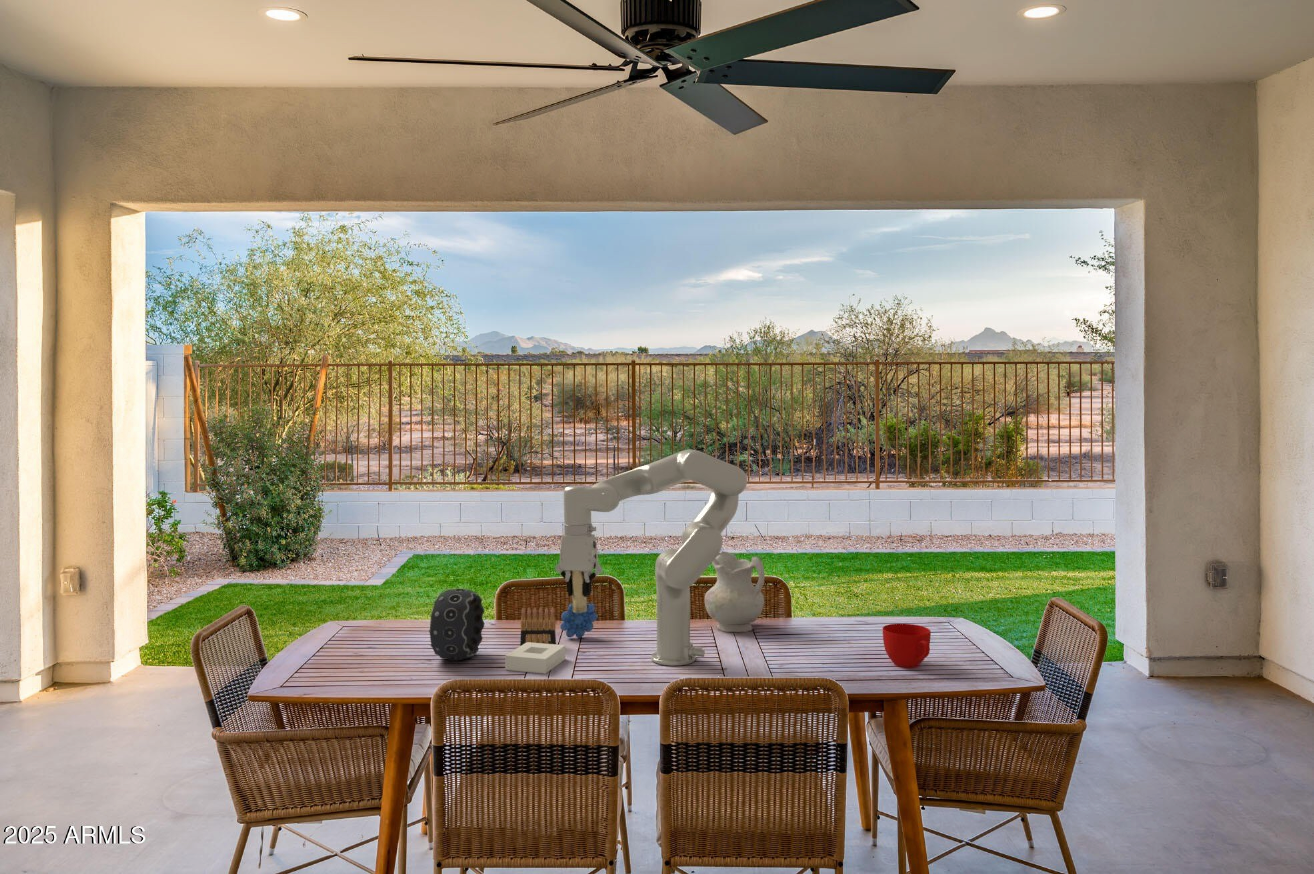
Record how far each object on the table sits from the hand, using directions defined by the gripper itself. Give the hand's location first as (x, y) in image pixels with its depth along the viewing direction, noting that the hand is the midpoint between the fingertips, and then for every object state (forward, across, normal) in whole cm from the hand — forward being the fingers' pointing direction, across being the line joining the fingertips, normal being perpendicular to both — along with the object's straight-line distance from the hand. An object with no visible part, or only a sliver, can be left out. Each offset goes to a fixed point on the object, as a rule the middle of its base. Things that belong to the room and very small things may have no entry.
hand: (579, 594), depth 238 cm
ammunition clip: (+20, +20, -15) cm, 32 cm away
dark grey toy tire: (+20, +36, +3) cm, 42 cm away
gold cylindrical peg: (+5, 0, 0) cm, 5 cm away
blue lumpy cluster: (+20, +12, -28) cm, 36 cm away
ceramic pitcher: (+21, -34, -52) cm, 66 cm away
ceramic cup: (+21, -88, -25) cm, 94 cm away
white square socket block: (+20, +12, +2) cm, 24 cm away
